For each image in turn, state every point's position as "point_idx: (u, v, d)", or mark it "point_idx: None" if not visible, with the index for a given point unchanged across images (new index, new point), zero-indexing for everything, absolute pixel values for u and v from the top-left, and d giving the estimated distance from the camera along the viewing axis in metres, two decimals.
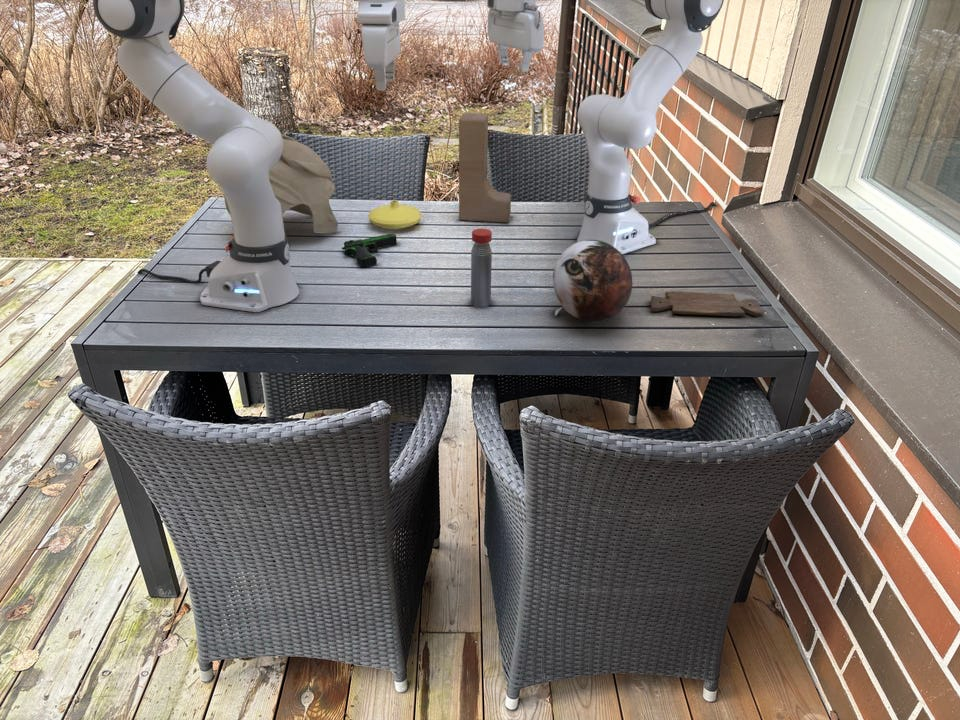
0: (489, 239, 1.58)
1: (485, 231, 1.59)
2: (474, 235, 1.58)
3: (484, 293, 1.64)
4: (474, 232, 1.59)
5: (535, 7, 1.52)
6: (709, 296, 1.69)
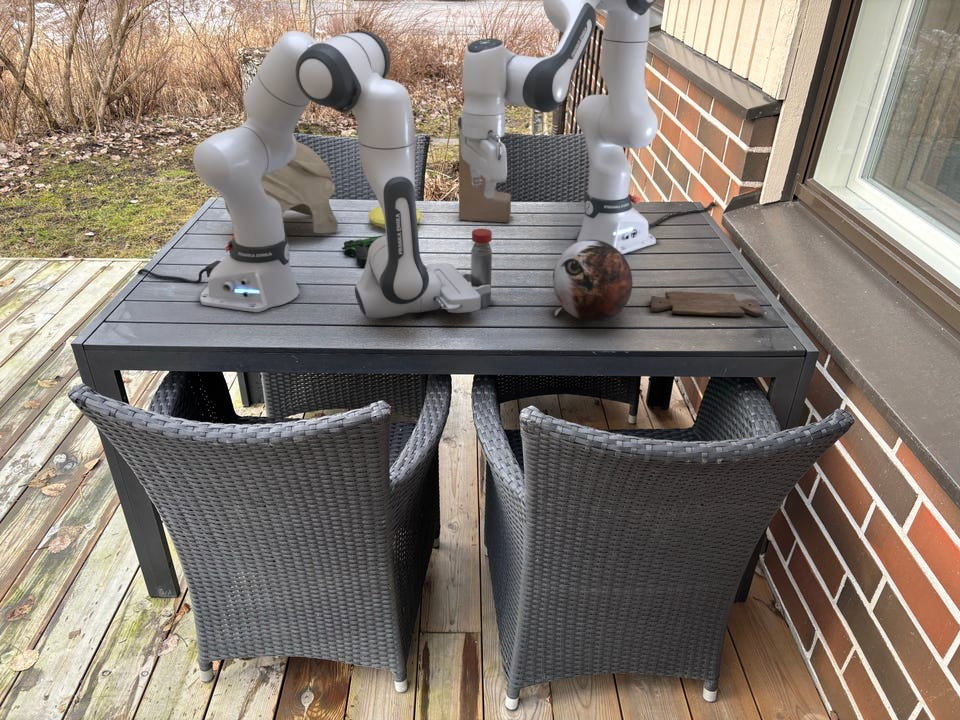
0: (489, 239, 1.58)
1: (485, 231, 1.59)
2: (474, 235, 1.58)
3: (484, 293, 1.64)
4: (474, 232, 1.59)
5: (497, 138, 1.40)
6: (709, 296, 1.69)
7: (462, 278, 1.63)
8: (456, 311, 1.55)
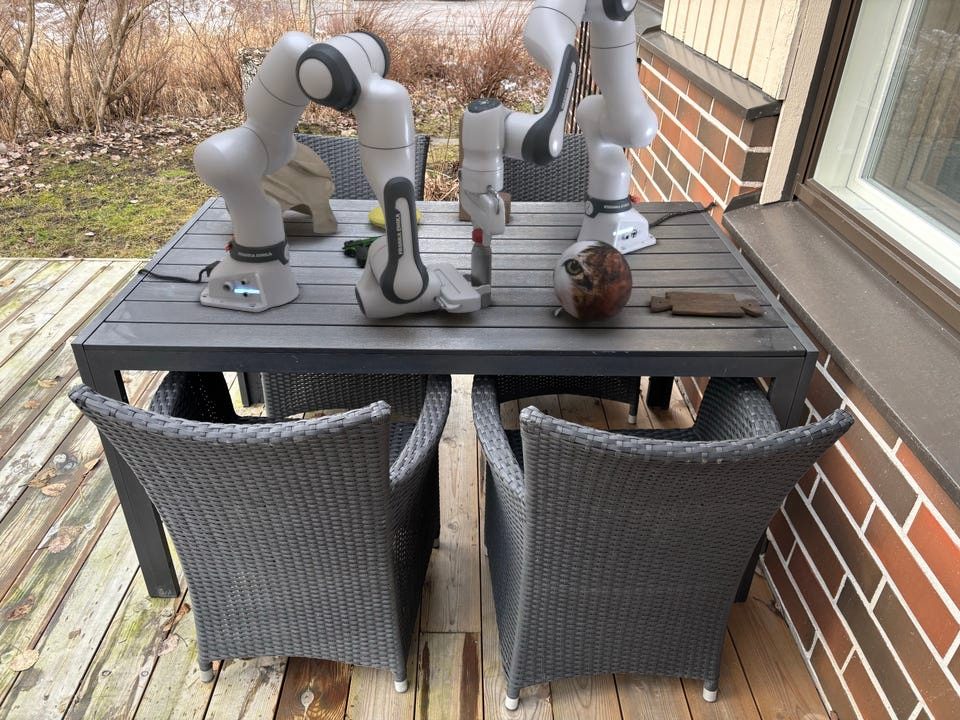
0: None
1: None
2: (474, 235, 1.58)
3: (484, 293, 1.64)
4: (474, 232, 1.59)
5: (495, 194, 1.46)
6: (709, 296, 1.69)
7: (462, 278, 1.63)
8: (456, 311, 1.55)
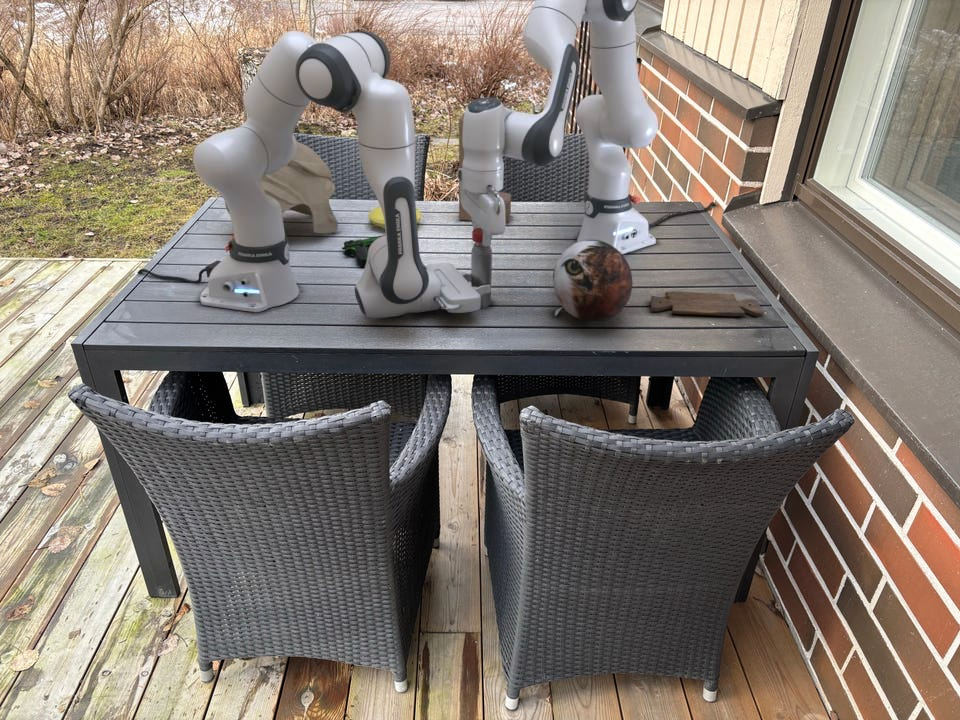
0: None
1: (481, 230, 1.60)
2: None
3: (484, 293, 1.64)
4: (482, 234, 1.57)
5: (495, 194, 1.46)
6: (709, 296, 1.69)
7: (462, 278, 1.63)
8: (456, 311, 1.55)
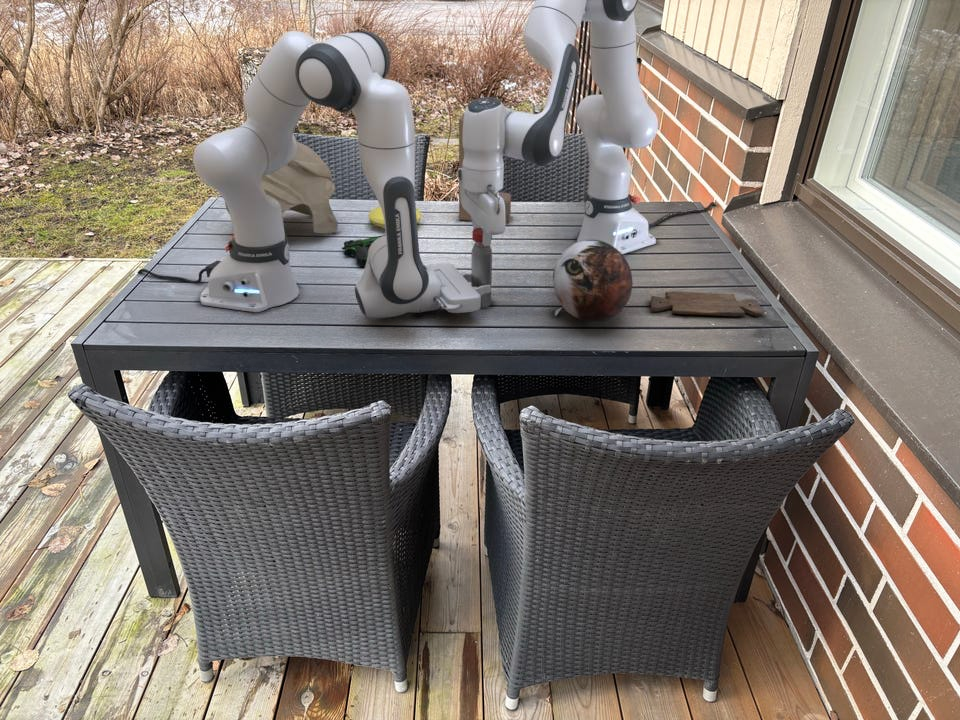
0: None
1: (478, 231, 1.59)
2: None
3: None
4: None
5: (495, 193, 1.46)
6: (709, 296, 1.69)
7: (462, 278, 1.63)
8: (456, 311, 1.55)
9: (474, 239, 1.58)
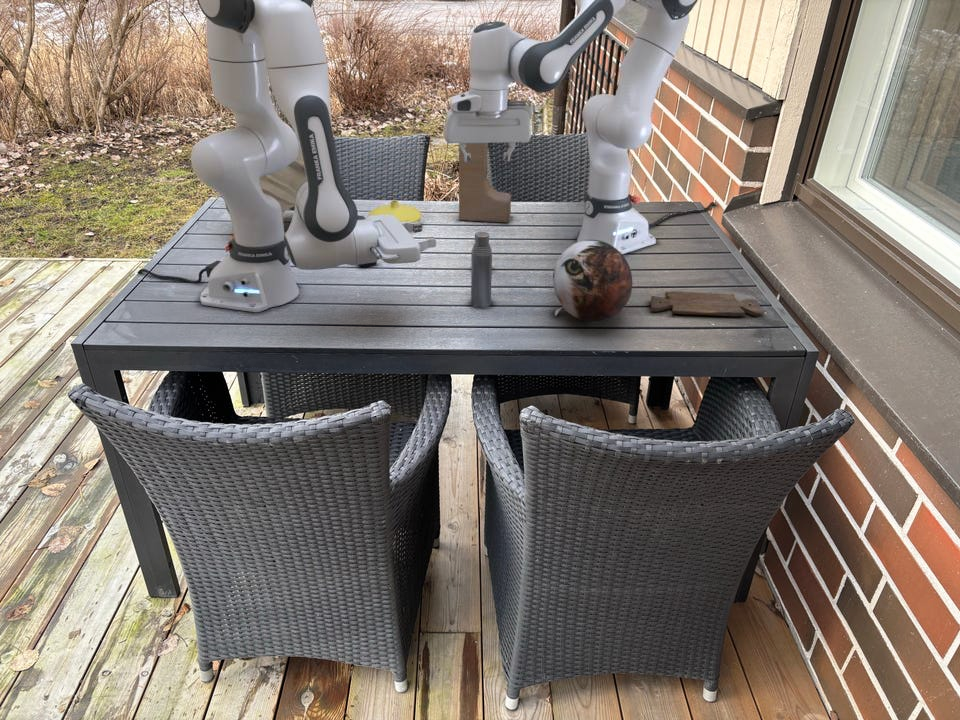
0: None
1: None
2: None
3: (484, 293, 1.64)
4: None
5: (526, 102, 1.64)
6: (709, 296, 1.69)
7: (403, 229, 1.52)
8: (393, 262, 1.44)
9: None
